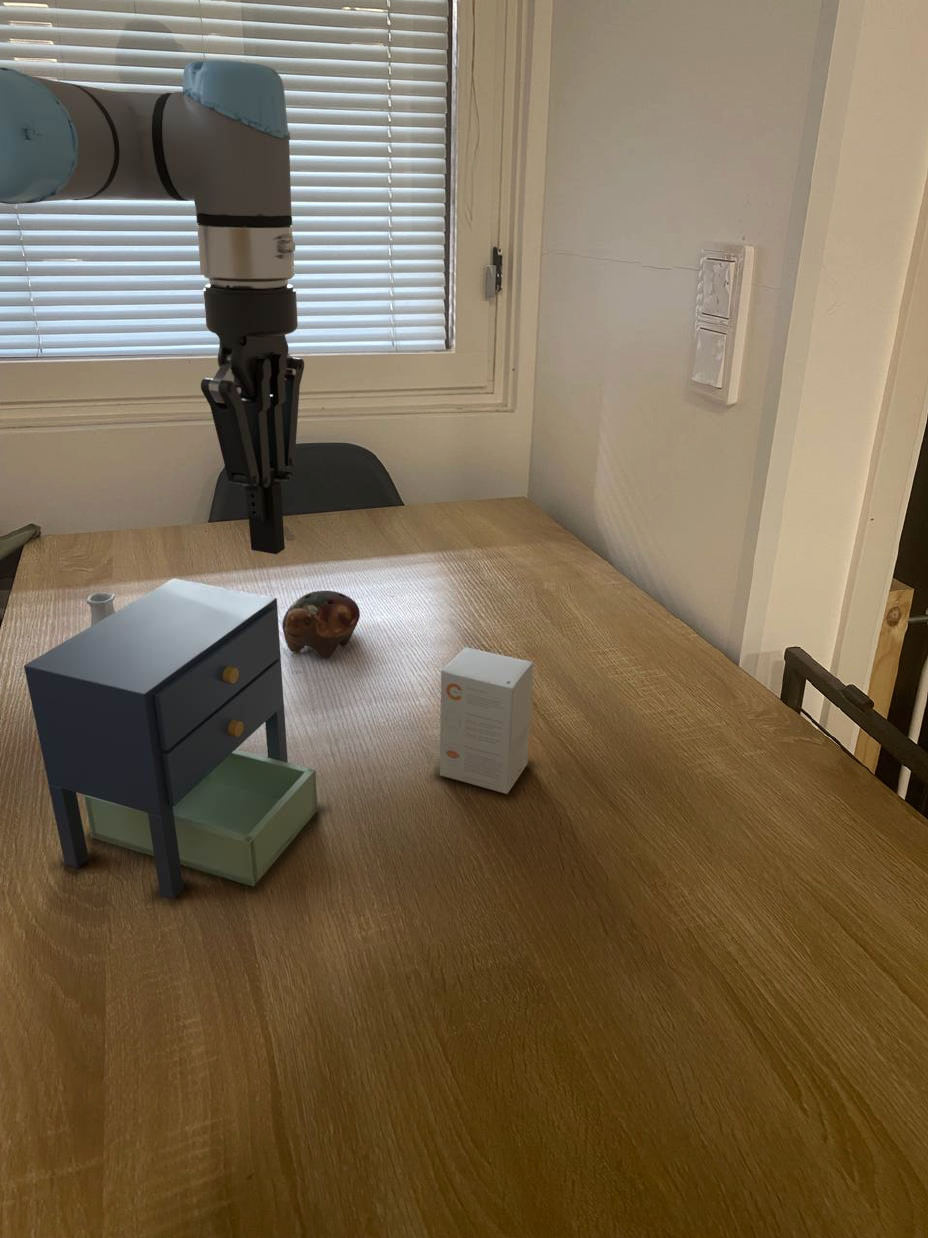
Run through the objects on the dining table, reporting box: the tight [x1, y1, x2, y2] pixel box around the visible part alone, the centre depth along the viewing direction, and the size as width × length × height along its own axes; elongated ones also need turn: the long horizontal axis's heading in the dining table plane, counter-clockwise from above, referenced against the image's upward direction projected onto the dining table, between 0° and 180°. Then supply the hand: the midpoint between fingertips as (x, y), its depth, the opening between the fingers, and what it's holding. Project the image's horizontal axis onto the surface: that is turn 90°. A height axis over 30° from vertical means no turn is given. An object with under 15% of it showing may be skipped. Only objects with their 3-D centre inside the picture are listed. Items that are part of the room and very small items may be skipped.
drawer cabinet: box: [23, 577, 289, 899], centre depth 86 cm, size 13×20×21 cm
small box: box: [439, 646, 534, 795], centre depth 96 cm, size 8×6×13 cm
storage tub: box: [83, 749, 318, 887], centre depth 89 cm, size 18×12×5 cm, turn 70°
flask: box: [86, 591, 116, 627], centre depth 115 cm, size 7×7×10 cm
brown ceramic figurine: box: [281, 590, 361, 660], centre depth 123 cm, size 10×15×8 cm, turn 163°
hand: (268, 549), depth 85 cm, fingers closed
